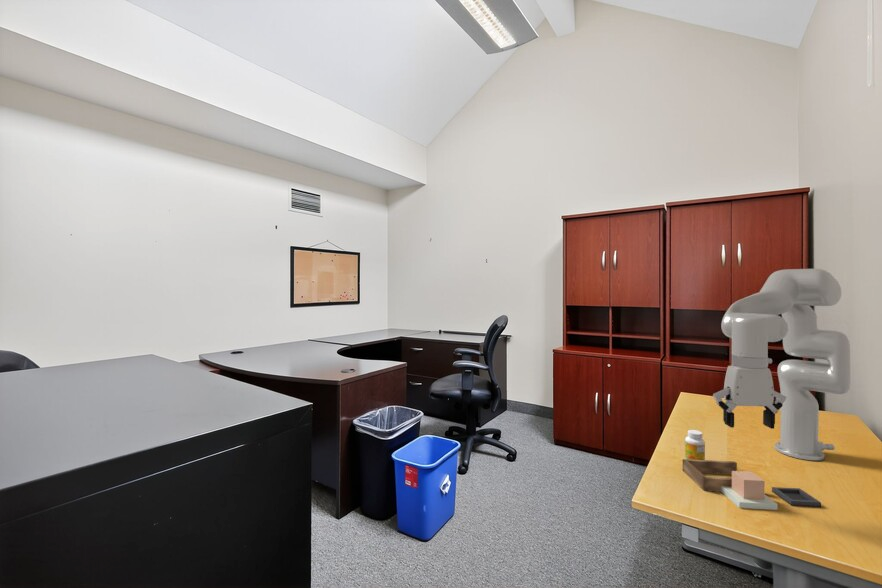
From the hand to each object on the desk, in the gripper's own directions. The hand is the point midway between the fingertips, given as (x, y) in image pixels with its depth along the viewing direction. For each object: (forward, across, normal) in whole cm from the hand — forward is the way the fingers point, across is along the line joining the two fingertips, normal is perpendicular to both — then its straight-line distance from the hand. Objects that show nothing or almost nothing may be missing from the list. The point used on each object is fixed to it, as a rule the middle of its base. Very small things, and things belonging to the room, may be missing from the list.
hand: (748, 426), depth 104 cm
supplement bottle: (+20, +2, -23) cm, 31 cm away
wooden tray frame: (+20, +2, -10) cm, 22 cm away
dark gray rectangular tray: (+20, -13, -2) cm, 24 cm away
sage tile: (+20, 0, 0) cm, 20 cm away
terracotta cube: (+18, 0, 0) cm, 19 cm away
